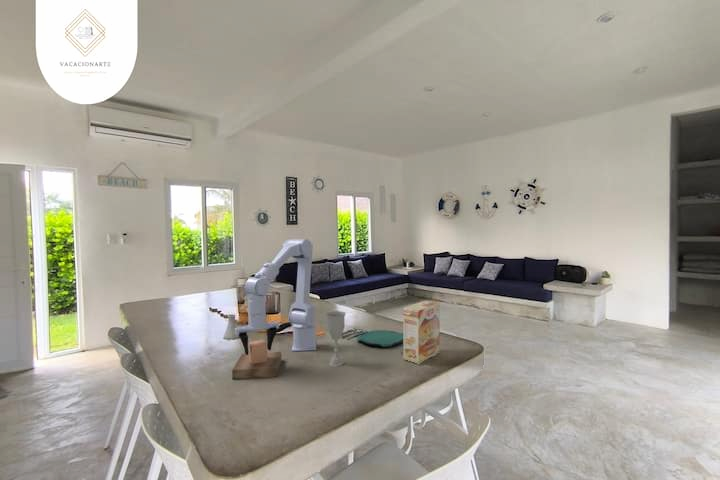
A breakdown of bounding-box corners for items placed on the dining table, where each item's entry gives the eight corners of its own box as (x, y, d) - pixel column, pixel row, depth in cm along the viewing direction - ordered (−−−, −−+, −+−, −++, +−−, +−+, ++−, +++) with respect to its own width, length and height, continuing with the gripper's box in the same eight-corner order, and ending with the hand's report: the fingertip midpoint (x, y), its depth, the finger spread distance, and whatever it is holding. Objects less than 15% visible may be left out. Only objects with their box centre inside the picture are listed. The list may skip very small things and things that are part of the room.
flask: (235, 340, 150) (234, 317, 150) (220, 339, 152) (219, 316, 151) (243, 335, 157) (243, 313, 157) (229, 334, 159) (228, 312, 158)
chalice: (330, 369, 119) (329, 317, 118) (323, 362, 125) (322, 312, 124) (349, 364, 122) (349, 314, 121) (341, 358, 128) (341, 310, 127)
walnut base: (281, 360, 127) (281, 352, 127) (276, 376, 113) (276, 367, 113) (242, 362, 126) (242, 354, 126) (232, 379, 112) (232, 370, 112)
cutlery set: (388, 353, 133) (388, 347, 133) (331, 339, 152) (331, 334, 152) (413, 339, 149) (413, 334, 149) (359, 328, 168) (359, 324, 168)
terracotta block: (263, 356, 123) (263, 339, 123) (267, 361, 119) (266, 343, 119) (249, 359, 121) (248, 342, 120) (252, 364, 116) (252, 346, 116)
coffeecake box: (419, 365, 121) (418, 310, 120) (402, 360, 126) (402, 307, 125) (440, 353, 132) (440, 302, 131) (424, 348, 137) (424, 300, 136)
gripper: (274, 307, 126) (275, 344, 126) (232, 313, 119) (233, 352, 119) (280, 311, 120) (281, 350, 120) (236, 317, 113) (237, 358, 113)
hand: (258, 351), depth 119 cm, fingers open, 7 cm apart
